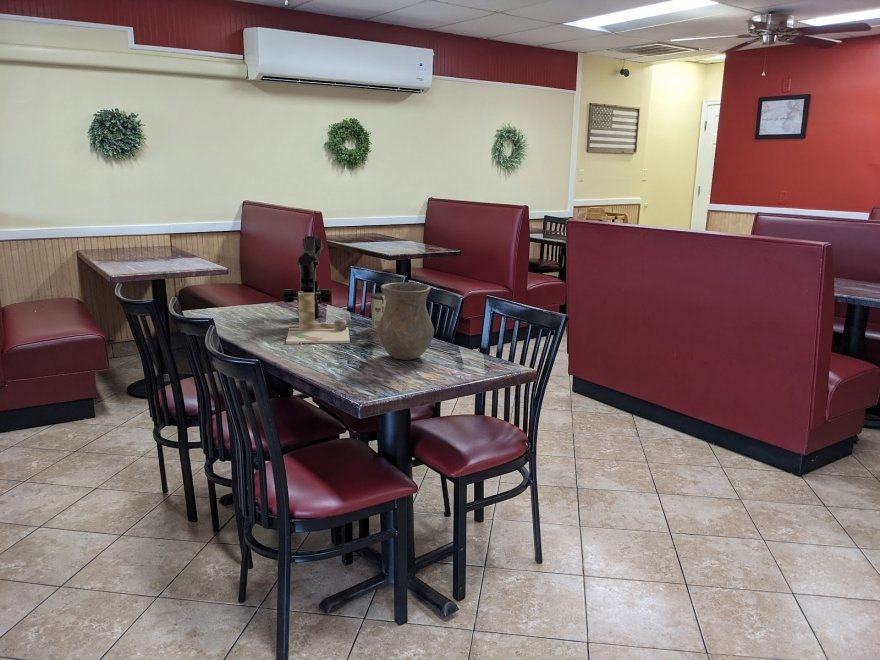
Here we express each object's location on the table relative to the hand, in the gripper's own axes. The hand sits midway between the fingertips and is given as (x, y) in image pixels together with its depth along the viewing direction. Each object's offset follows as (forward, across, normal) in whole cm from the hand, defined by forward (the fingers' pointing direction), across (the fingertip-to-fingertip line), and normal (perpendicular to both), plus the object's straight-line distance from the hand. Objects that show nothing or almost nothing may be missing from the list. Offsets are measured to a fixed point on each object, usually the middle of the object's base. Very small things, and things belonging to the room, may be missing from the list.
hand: (307, 313), depth 273 cm
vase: (+35, -34, +25) cm, 55 cm away
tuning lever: (+6, -4, -2) cm, 8 cm away
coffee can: (+4, -30, -6) cm, 31 cm away
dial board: (+12, -4, +2) cm, 13 cm away
